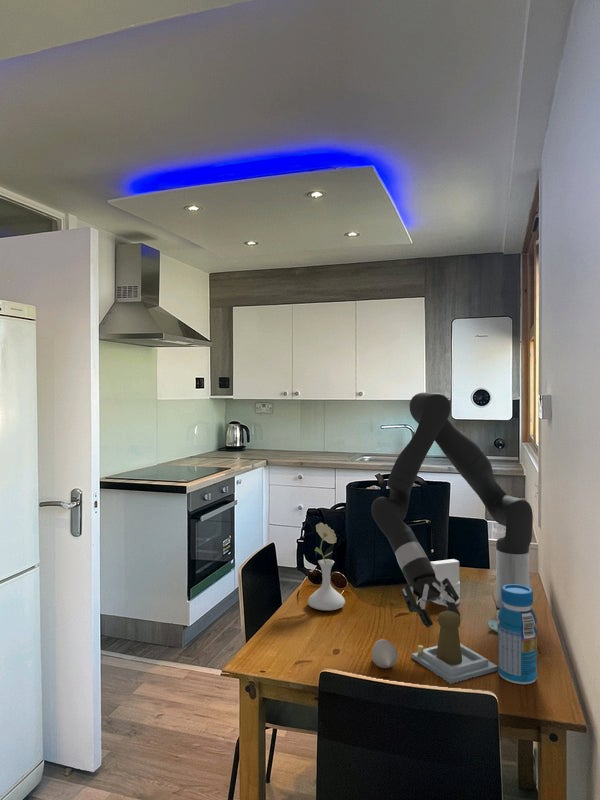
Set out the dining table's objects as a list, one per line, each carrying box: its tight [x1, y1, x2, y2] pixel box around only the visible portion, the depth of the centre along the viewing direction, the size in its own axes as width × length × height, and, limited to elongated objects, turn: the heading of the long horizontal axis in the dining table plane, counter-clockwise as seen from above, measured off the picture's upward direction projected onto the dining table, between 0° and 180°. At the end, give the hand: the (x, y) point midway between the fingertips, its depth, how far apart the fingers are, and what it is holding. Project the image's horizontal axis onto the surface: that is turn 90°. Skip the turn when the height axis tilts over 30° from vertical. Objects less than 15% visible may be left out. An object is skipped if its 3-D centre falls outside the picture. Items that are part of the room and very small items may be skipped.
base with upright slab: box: [429, 558, 461, 606], centre depth 175 cm, size 9×9×12 cm
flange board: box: [411, 643, 498, 685], centre depth 133 cm, size 14×14×3 cm
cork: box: [436, 610, 462, 665], centre depth 133 cm, size 6×6×11 cm
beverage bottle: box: [497, 584, 538, 685], centre depth 127 cm, size 8×8×20 cm
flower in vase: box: [307, 522, 346, 612], centre depth 170 cm, size 13×11×25 cm
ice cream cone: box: [371, 639, 399, 669], centre depth 130 cm, size 6×6×15 cm
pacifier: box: [487, 609, 500, 634], centre depth 151 cm, size 7×6×6 cm
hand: (444, 623), depth 136 cm, fingers open, 8 cm apart
